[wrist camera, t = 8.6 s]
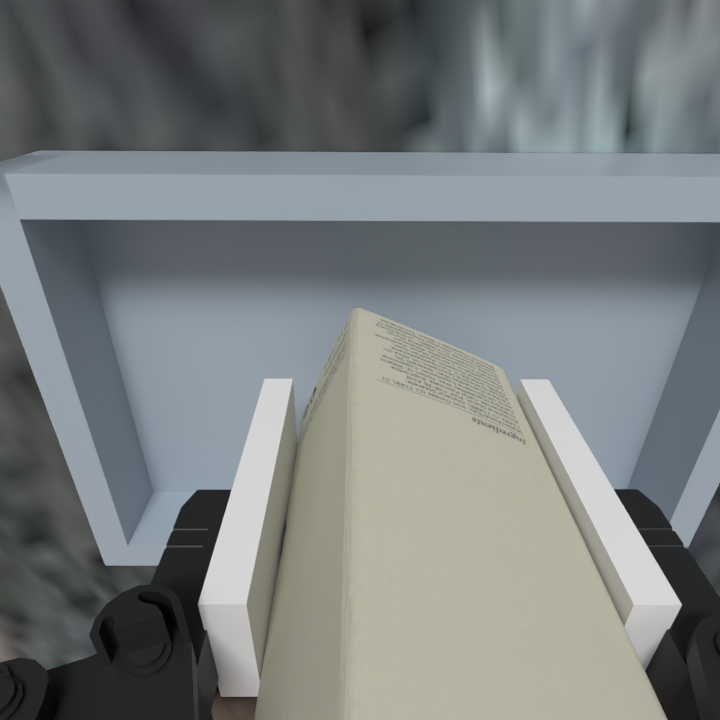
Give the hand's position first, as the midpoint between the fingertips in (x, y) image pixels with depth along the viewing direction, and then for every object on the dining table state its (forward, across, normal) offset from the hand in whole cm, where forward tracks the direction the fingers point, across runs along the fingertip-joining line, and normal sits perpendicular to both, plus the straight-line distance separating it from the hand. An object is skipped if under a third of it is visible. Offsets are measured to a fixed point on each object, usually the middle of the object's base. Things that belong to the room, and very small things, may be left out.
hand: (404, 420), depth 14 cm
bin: (+4, 0, 0) cm, 4 cm away
